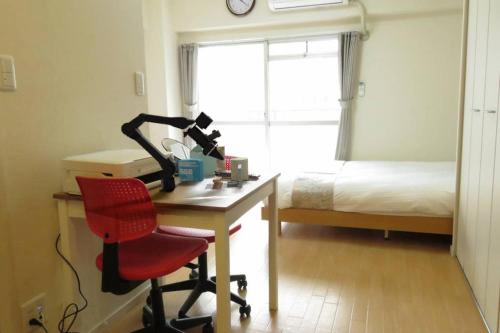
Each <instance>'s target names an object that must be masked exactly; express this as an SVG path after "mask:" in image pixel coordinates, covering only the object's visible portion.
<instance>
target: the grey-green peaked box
mask: <svg viewBox="0 0 500 333" xmlns="http://www.w3.org/2000/svg"><path fill="white" fill-rule="evenodd" d="M202 149H203V148H201V147H200V146H199V145H197V144H196V145H195V146H194V147H193V148H192V149H190V150H189V159H202V161H203V172H204V178H206V177H211V176H216V175H215V173H214V171H217V162H216V158H214V157H211V156H208V154H209V153H208V154H207V155H206V156H205V155H204V154H203V150H202Z"/></svg>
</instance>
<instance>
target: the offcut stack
mask: <svg viewBox="0 0 500 333" xmlns="http://www.w3.org/2000/svg"><path fill="white" fill-rule="evenodd" d="M223 183H224V181H223V176H215V177H214V178H213V179H212V184H213V188H222V185H223ZM222 189H223V188H222Z"/></svg>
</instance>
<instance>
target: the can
mask: <svg viewBox="0 0 500 333" xmlns="http://www.w3.org/2000/svg"><path fill="white" fill-rule="evenodd" d="M229 162H230V179H231V180H230V181H238V164H242V182H243V181H248V180H249V158H248V157H232V158H230V160H229Z"/></svg>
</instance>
